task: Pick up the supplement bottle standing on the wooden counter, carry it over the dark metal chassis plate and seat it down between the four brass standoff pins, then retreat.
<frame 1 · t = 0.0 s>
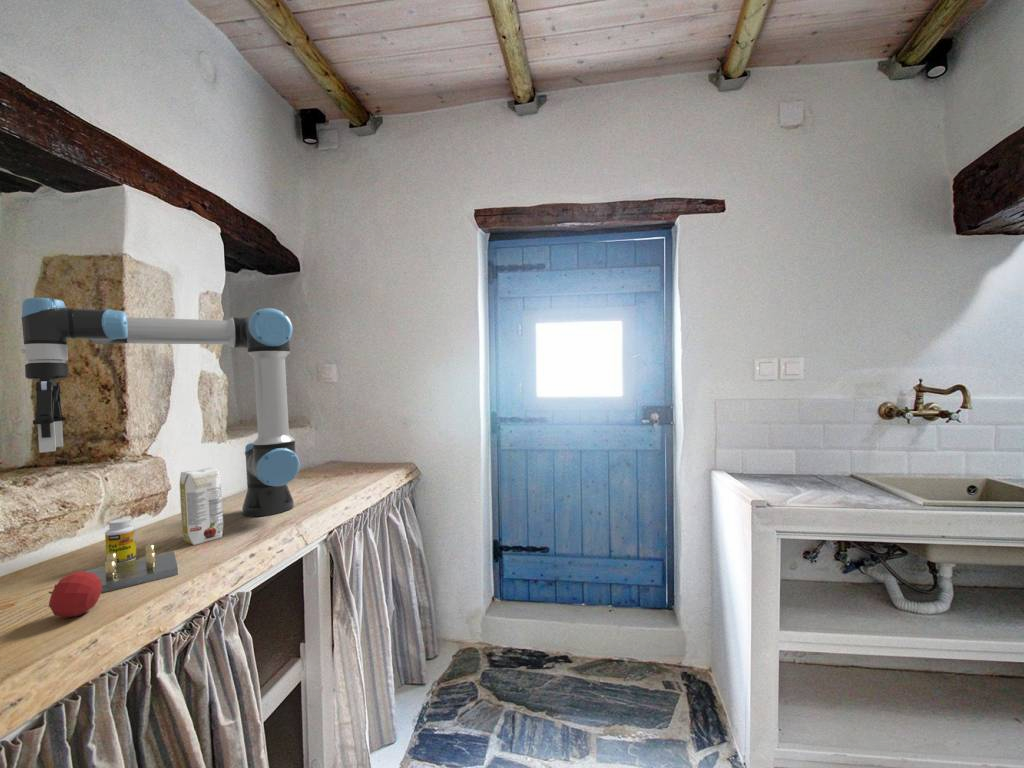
hand: (52, 449, 114), 28 cm above the worktop, fingers open, 13 cm apart
chassis: (132, 575, 104), on the worktop
supplement bottle: (122, 563, 113), on the worktop
tomato: (75, 615, 87), on the worktop
juice carton: (203, 540, 128), on the worktop
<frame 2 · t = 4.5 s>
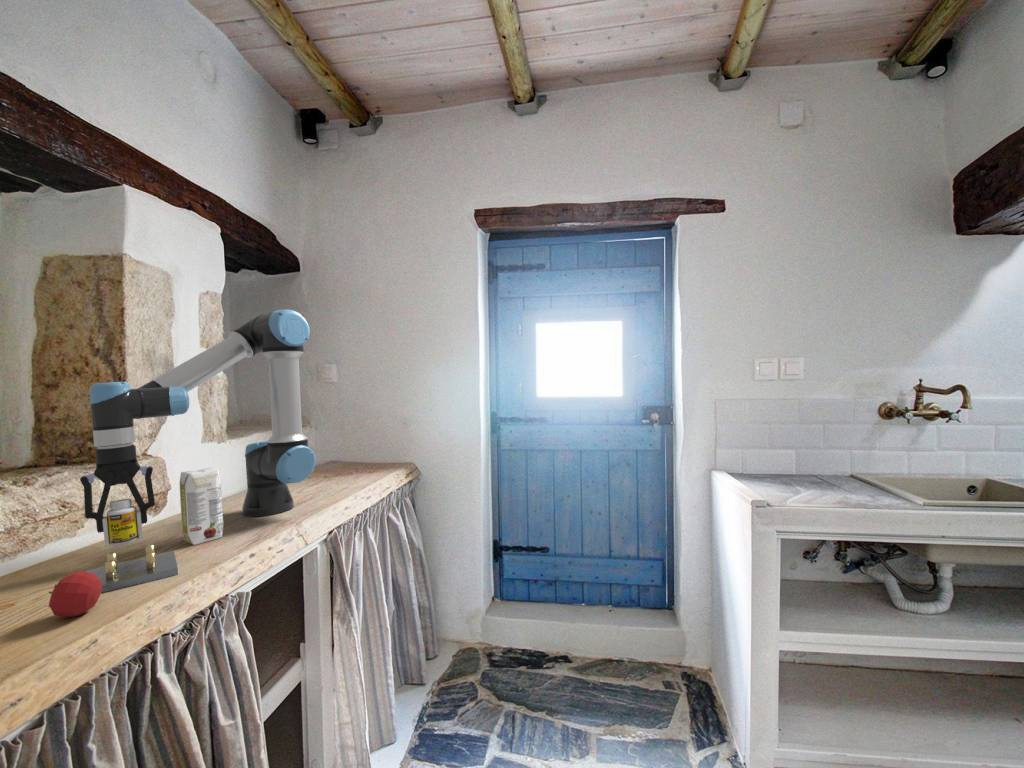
hand: (124, 540, 114), 5 cm above the worktop, fingers closed on supplement bottle, 6 cm apart
supplement bottle: (124, 543, 114), point 4 cm above the worktop, touching gripper
everything else where it was.
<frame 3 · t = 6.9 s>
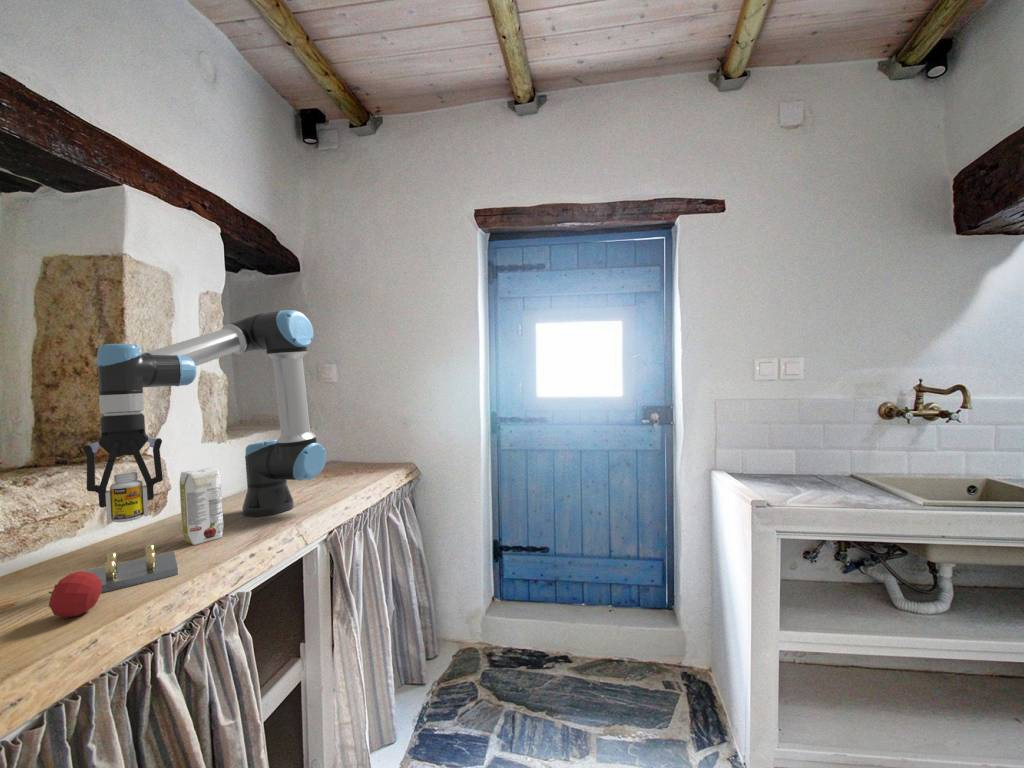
hand: (128, 517, 104), 13 cm above the worktop, fingers closed on supplement bottle, 6 cm apart
supplement bottle: (128, 520, 104), point 12 cm above the worktop, touching gripper
everything else where it was.
when the fingers open (3 cm above the worktop, at t = 9.3 s): supplement bottle stays where it is, resting on chassis.
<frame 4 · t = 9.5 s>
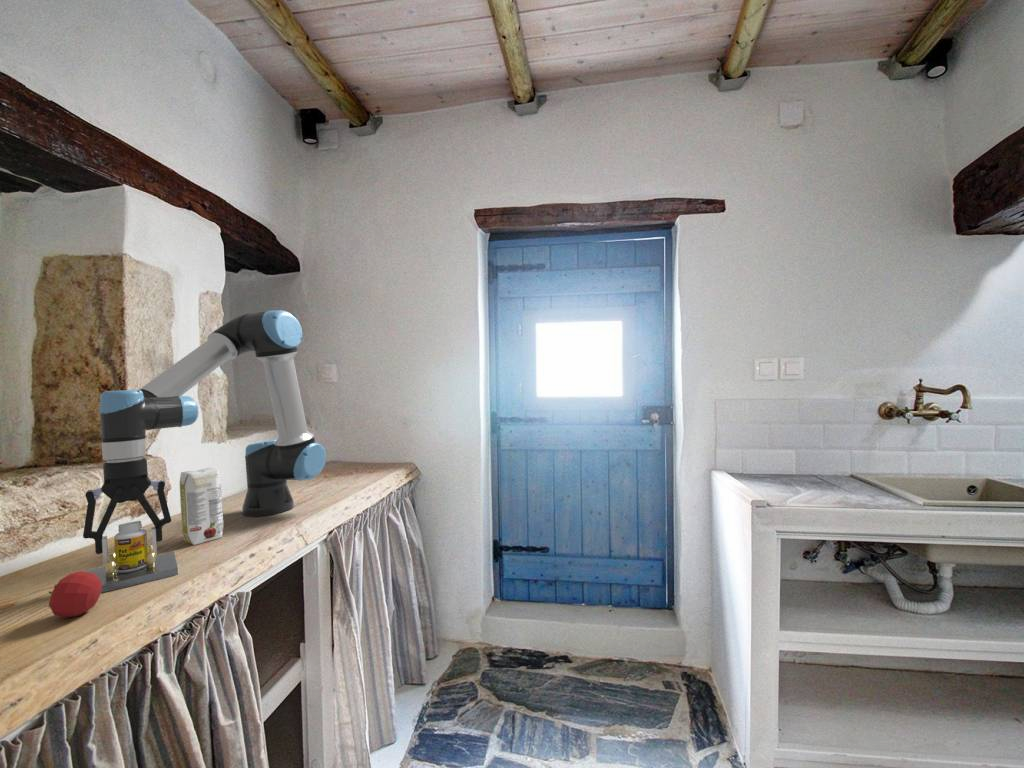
hand: (131, 561, 104), 3 cm above the worktop, fingers open, 8 cm apart
supplement bottle: (132, 569, 104), point 1 cm above the worktop, touching chassis
everything else where it was.
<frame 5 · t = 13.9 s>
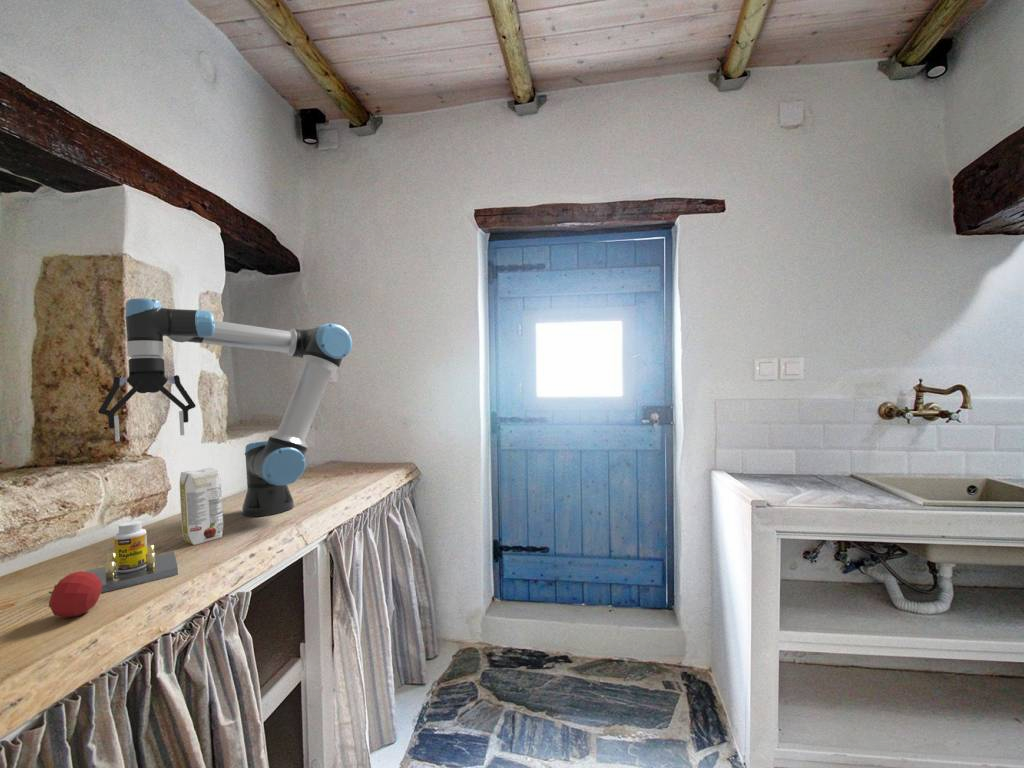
hand: (151, 438, 124), 29 cm above the worktop, fingers open, 13 cm apart
nothing on the worktop moved.
at the end: supplement bottle 0.2 cm from the chassis (horizontally); supplement bottle point 1.3 cm above the worktop; supplement bottle tilted 0° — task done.
